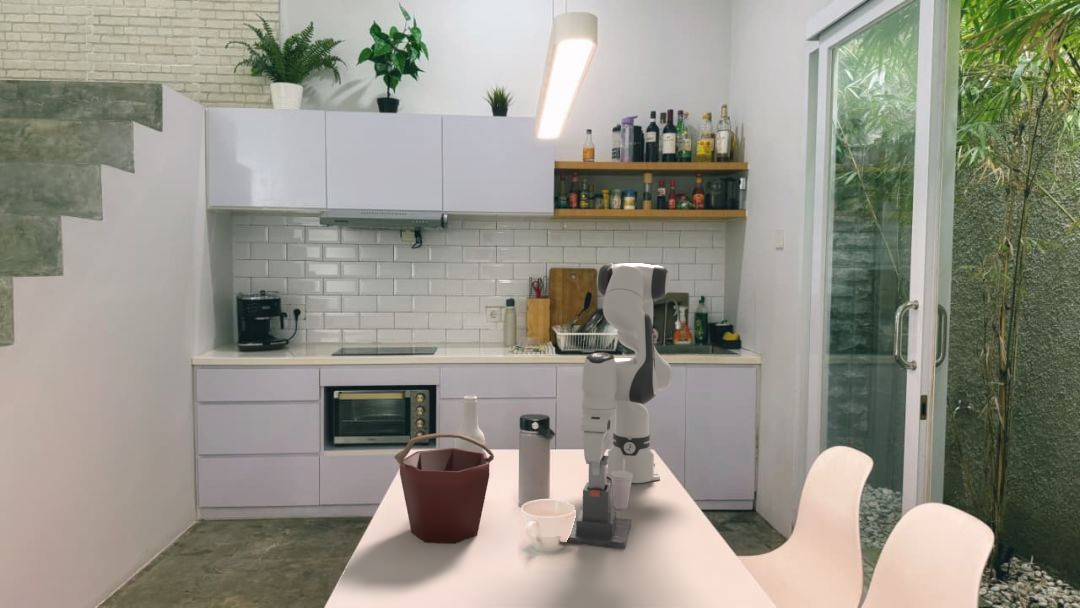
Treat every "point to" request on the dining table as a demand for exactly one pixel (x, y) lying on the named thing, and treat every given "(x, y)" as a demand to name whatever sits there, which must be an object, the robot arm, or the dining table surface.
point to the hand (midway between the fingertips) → (597, 471)
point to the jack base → (599, 522)
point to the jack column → (598, 476)
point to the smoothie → (621, 487)
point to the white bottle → (470, 426)
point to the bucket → (444, 489)
